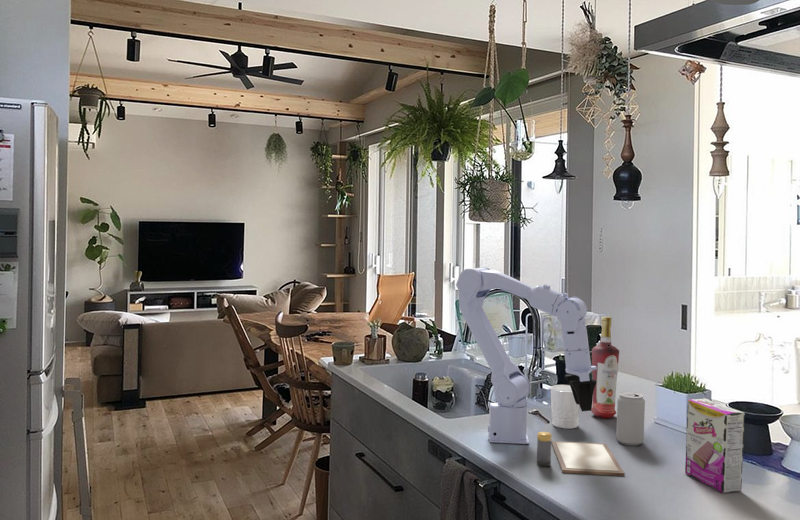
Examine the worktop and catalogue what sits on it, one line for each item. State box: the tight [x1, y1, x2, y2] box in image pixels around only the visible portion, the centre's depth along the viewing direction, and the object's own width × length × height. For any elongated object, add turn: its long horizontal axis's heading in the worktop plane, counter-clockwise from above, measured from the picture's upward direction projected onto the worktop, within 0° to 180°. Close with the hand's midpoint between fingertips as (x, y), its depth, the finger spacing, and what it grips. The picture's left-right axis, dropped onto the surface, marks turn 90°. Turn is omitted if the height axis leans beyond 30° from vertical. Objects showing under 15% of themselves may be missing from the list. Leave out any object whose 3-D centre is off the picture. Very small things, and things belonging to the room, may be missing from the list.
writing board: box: [551, 440, 626, 477], centre depth 149 cm, size 13×19×1 cm
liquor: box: [590, 316, 620, 420], centre depth 182 cm, size 7×7×28 cm
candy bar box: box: [684, 398, 746, 494], centre depth 135 cm, size 11×5×16 cm, turn 17°
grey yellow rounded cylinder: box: [536, 431, 552, 469], centre depth 144 cm, size 3×3×7 cm
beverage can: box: [615, 391, 646, 447], centre depth 160 cm, size 6×6×12 cm
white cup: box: [550, 384, 581, 430], centre depth 174 cm, size 8×8×10 cm
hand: (583, 407), depth 152 cm, fingers open, 7 cm apart
